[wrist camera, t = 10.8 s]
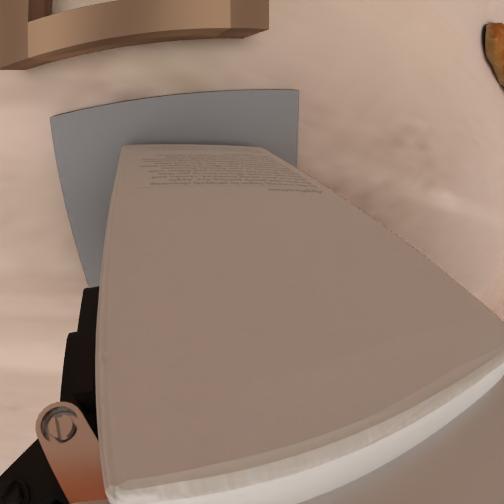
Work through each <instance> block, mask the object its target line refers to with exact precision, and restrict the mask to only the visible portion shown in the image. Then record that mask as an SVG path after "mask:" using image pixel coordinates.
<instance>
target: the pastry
mask: <svg viewBox="0 0 504 504" xmlns="http://www.w3.org/2000/svg"><path fill="white" fill-rule="evenodd" d="M485 52H486V57H487V59H488V61H489V62H490V63H491V65H492V68H493V70H494V72H495V74H496V78H497V80H498V82H499V83H500V84H501V85H502V86H503V87H504V24H503V23H492V24H487V25H486V35H485Z"/></svg>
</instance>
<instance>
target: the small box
mask: <svg viewBox="0 0 504 504" xmlns="http://www.w3.org/2000/svg"><path fill="white" fill-rule="evenodd" d="M503 375H504V322H503V321H502V320H501V319H500V318H499V317H498V316H496V315H495V314H494V313H493V312H492V311H491V310H490V309H489V308H487V307H486V306H485V305H484V304H483V303H482V302H480V301H479V300H478V299H477V298H476V297H474V296H473V295H472V294H471V293H470V292H468V291H467V290H466V289H465V288H464V287H462V286H461V285H460V284H459V283H457V282H456V281H455V280H454V279H453V278H451V277H450V276H449V275H448V274H446V273H445V272H444V271H443V270H441V269H440V268H439V267H438V266H436V265H435V264H434V263H433V262H431V261H430V260H429V259H428V258H426V257H425V256H424V255H423V254H421V253H420V252H419V251H417V250H416V249H415V248H413V247H412V246H411V245H409V244H408V243H407V242H405V241H404V240H403V239H401V238H400V237H399V236H397V235H396V234H394V233H393V232H392V231H390V230H389V229H387V228H386V227H384V226H383V225H382V224H381V223H379V222H378V221H376V220H375V219H373V218H372V217H371V216H369V215H368V214H366V213H365V212H363V211H362V210H360V209H359V208H357V207H356V206H354V205H353V204H351V203H350V202H348V201H347V200H346V199H344V198H343V197H341V196H340V195H338V194H337V193H335V192H334V191H332V190H330V189H329V188H327V187H326V186H324V185H323V184H321V183H320V182H318V181H317V180H315V179H314V178H312V177H310V176H309V175H307V174H306V173H304V172H302V171H301V170H299V169H297V168H296V167H294V166H292V165H291V164H289V163H287V162H286V161H284V160H282V159H281V158H279V157H277V156H275V155H274V154H272V153H271V152H269V151H267V150H266V149H264V148H262V147H250V146H230V145H198V144H140V145H124V146H123V147H122V148H121V153H120V158H119V163H118V168H117V173H116V178H115V182H114V187H113V192H112V196H111V201H110V208H109V214H108V221H107V227H106V234H105V242H104V249H103V258H102V267H101V277H100V287H99V300H98V312H97V325H96V353H95V379H96V410H97V425H98V438H99V449H100V458H101V466H102V474H103V481H104V488H105V493H106V495H107V498H108V501H109V502H110V503H111V504H297V503H300V502H303V501H306V500H309V499H311V498H314V497H317V496H319V495H322V494H324V493H327V492H329V491H332V490H334V489H336V488H339V487H341V486H343V485H345V484H348V483H350V482H352V481H354V480H356V479H358V478H360V477H362V476H364V475H366V474H368V473H370V472H372V471H373V470H375V469H377V468H379V467H381V466H383V465H384V464H386V463H388V462H390V461H391V460H393V459H395V458H397V457H398V456H400V455H401V454H403V453H405V452H406V451H408V450H410V449H411V448H413V447H414V446H416V445H417V444H419V443H420V442H422V441H423V440H425V439H426V438H428V437H429V436H431V435H432V434H434V433H435V432H436V431H438V430H439V429H441V428H442V427H443V426H445V425H446V424H448V423H449V422H450V421H452V420H453V419H454V418H455V417H457V416H458V415H459V414H461V413H462V412H463V411H465V410H466V409H467V408H468V407H470V406H471V405H472V404H473V403H475V402H476V401H477V400H478V399H480V398H481V397H482V396H483V395H484V394H485V393H486V392H487V391H489V390H490V389H491V388H492V387H493V386H494V385H495V384H496V383H497V382H498V381H499V380H500V379H501V378H502V377H503Z"/></svg>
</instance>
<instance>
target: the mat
mask: <svg viewBox="0 0 504 504" xmlns="http://www.w3.org/2000/svg"><path fill="white" fill-rule="evenodd" d="M298 111H299V90H284V89H259V90H227V91H209V92H196V93H185V94H175V95H166V96H157V97H150V98H142V99H136V100H129V101H123V102H117V103H111V104H106V105H101V106H96V107H91V108H86V109H81V110H77V111H72V112H68V113H64V114H60V115H56V116H52V117H50V124H51V131H52V138H53V144H54V151H55V156H56V162H57V167H58V173H59V178H60V182H61V187H62V192H63V196H64V201H65V205H66V209H67V213H68V217H69V221H70V225H71V229H72V233H73V236H74V240H75V243H76V247H77V250H78V254H79V257H80V260H81V264H82V267H83V270H84V273H85V276H86V279H87V282H88V285H89V288H91V287H97V286H100V277H101V267H102V258H103V249H104V242H105V234H106V227H107V221H108V214H109V208H110V201H111V196H112V192H113V187H114V182H115V178H116V173H117V168H118V163H119V158H120V153H121V148H122V147H123V146H124V145H140V144H198V145H230V146H250V147H262V148H264V149H266V150H267V151H269V152H271V153H272V154H274V155H275V156H277V157H279V158H281V159H282V160H284V161H286V162H287V163H289V164H291V165H292V166H294V167H296V168H297V145H298Z"/></svg>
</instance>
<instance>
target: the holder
mask: <svg viewBox="0 0 504 504" xmlns="http://www.w3.org/2000/svg"><path fill="white" fill-rule="evenodd" d="M268 29H269V0H117V1H111V2H106V3H100V4H95V5H90V6H85V7H81V8H77V9H72V10H68V11H64V12H61V13H57V14H53V15H52V0H0V70H26V69H29V68H32V67H36V66H39V65H42V64H46V63H49V62H53V61H57V60H61V59H65V58H69V57H73V56H77V55H82V54H86V53H91V52H96V51H101V50H106V49H112V48H118V47H124V46H131V45H138V44H146V43H154V42H164V41H176V40H190V39H214V38H245V37H248V36H251V35H253V34H256V33H259V32H262V31H265V30H268Z"/></svg>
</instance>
